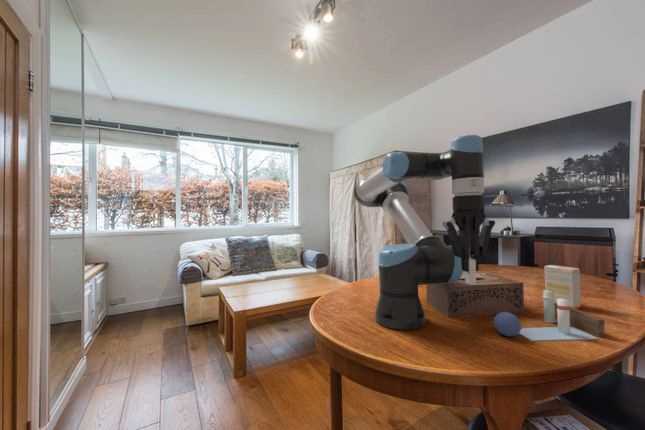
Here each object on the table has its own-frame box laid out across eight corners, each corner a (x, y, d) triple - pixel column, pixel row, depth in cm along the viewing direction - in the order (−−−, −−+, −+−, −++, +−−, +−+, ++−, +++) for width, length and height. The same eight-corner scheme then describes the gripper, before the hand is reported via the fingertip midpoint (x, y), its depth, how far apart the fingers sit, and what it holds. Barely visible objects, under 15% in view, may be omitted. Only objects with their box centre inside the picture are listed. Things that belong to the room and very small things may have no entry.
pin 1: (548, 323, 77) (547, 292, 77) (541, 320, 80) (540, 290, 80) (557, 323, 77) (556, 292, 77) (550, 320, 80) (549, 290, 80)
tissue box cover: (492, 299, 101) (491, 272, 101) (524, 313, 86) (523, 282, 86) (426, 303, 99) (425, 276, 99) (448, 318, 84) (447, 286, 84)
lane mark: (530, 341, 68) (530, 340, 68) (511, 329, 75) (511, 328, 75) (598, 339, 68) (598, 338, 67) (572, 327, 74) (572, 326, 74)
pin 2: (563, 335, 70) (562, 301, 70) (555, 331, 72) (554, 298, 72) (572, 335, 70) (572, 301, 70) (564, 331, 72) (563, 298, 72)
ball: (503, 340, 68) (503, 317, 68) (489, 330, 74) (488, 309, 74) (527, 340, 68) (526, 316, 68) (510, 329, 74) (510, 308, 74)
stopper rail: (598, 337, 68) (598, 319, 68) (555, 317, 81) (554, 302, 81) (604, 337, 68) (604, 319, 68) (559, 317, 81) (559, 302, 81)
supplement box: (582, 307, 89) (580, 268, 89) (573, 309, 87) (572, 269, 87) (553, 300, 97) (552, 264, 97) (544, 302, 95) (543, 265, 95)
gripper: (450, 194, 67) (452, 287, 67) (501, 193, 67) (504, 286, 67) (437, 196, 75) (439, 280, 75) (484, 195, 75) (486, 279, 75)
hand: (470, 283), depth 71 cm, fingers closed
